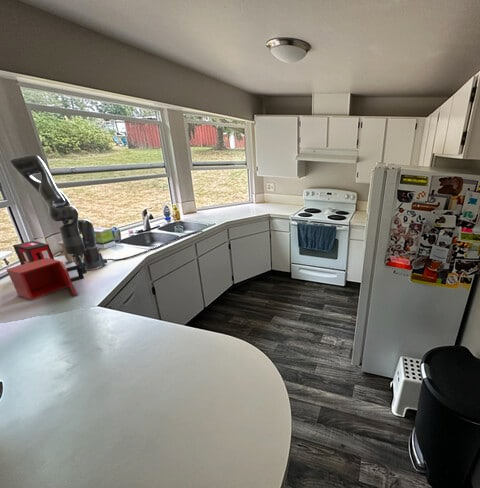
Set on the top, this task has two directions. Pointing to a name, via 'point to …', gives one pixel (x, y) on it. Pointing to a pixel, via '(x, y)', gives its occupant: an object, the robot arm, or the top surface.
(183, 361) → the top surface
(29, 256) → the cleaning product box
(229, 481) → the top surface
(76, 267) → the red cabinet door
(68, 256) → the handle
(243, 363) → the top surface
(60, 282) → the cabinet
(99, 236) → the tea box
